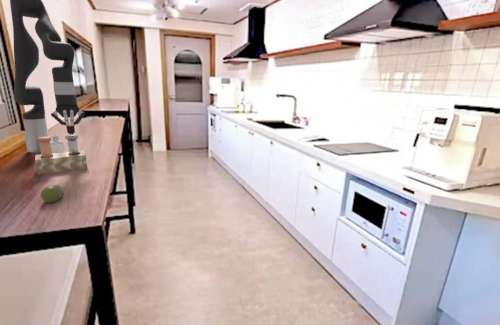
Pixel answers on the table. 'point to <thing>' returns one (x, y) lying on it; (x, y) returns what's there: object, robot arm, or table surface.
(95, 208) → the table surface
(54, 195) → the green rounded lump
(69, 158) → the beige rectangular block
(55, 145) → the eye dropper bottle
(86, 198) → the table surface
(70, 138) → the steel plunger
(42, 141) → the terracotta plunger
